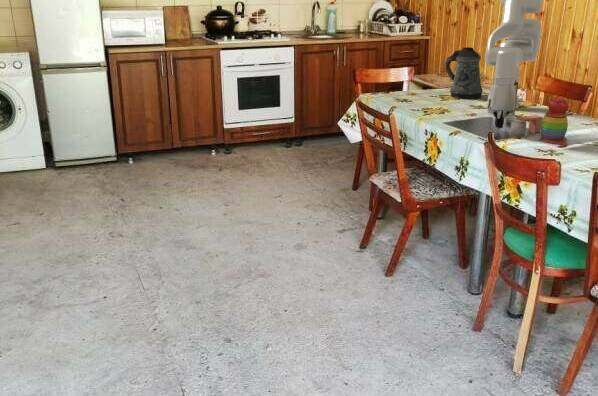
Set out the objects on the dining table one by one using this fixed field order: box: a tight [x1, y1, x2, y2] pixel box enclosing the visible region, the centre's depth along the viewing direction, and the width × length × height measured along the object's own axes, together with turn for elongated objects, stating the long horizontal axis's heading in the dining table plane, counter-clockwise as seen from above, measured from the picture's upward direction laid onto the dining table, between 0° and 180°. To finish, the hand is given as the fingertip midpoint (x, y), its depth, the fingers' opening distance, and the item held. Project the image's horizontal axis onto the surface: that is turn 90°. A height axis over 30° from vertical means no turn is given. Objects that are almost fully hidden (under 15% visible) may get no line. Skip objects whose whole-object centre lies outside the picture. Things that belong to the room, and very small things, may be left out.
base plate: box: [442, 115, 541, 142], centre depth 242 cm, size 26×32×1 cm
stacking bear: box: [539, 95, 571, 149], centre depth 219 cm, size 11×10×18 cm
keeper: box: [516, 114, 543, 133], centre depth 232 cm, size 10×4×6 cm, turn 114°
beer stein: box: [444, 46, 483, 100], centre depth 302 cm, size 16×19×25 cm
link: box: [492, 113, 527, 135], centre depth 237 cm, size 17×6×5 cm, turn 5°
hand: (498, 127), depth 235 cm, fingers closed
